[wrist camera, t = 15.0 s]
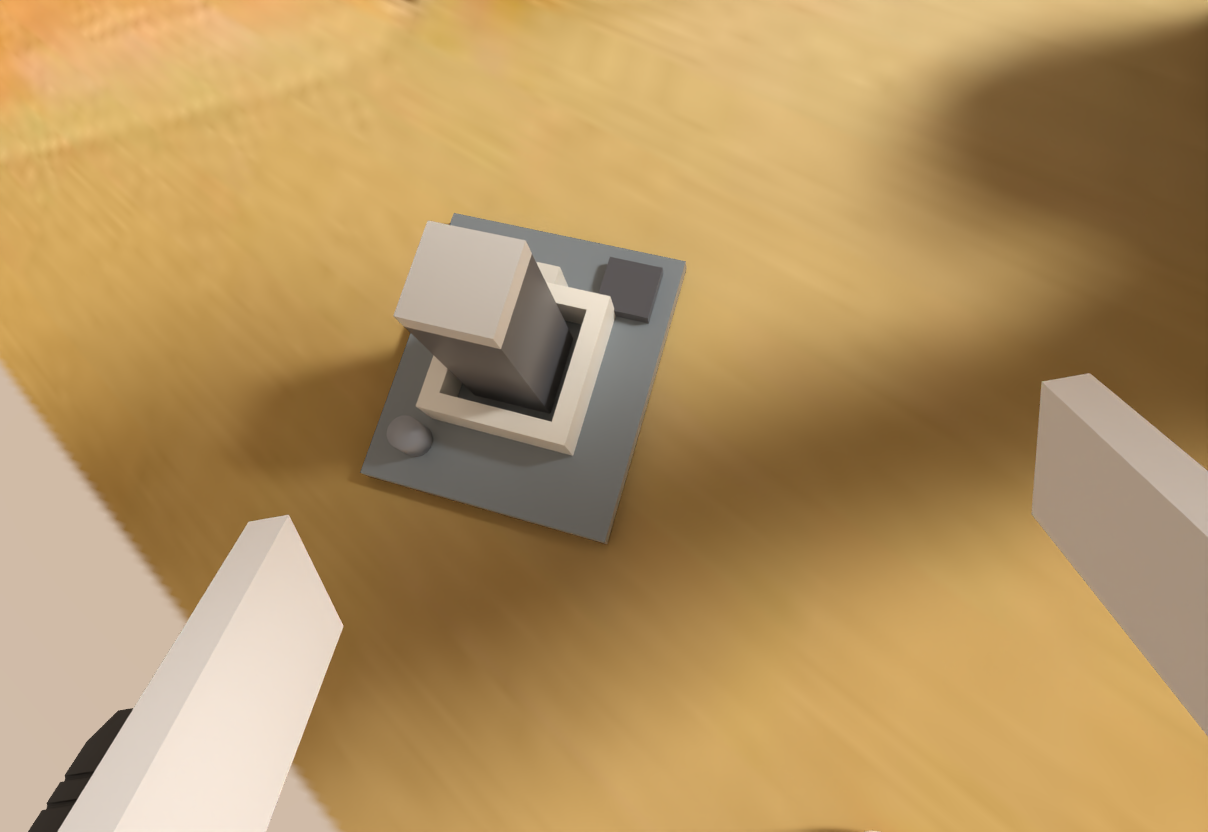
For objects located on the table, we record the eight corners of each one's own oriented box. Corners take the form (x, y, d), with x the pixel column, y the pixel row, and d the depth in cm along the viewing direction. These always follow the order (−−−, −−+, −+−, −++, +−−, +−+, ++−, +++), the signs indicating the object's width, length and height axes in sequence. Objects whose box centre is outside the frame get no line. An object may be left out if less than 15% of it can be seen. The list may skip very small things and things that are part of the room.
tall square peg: (498, 321, 45) (427, 220, 34) (573, 338, 44) (525, 240, 33) (474, 395, 44) (393, 315, 33) (550, 413, 43) (493, 339, 32)
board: (459, 221, 48) (439, 190, 45) (686, 269, 45) (683, 240, 42) (367, 476, 45) (339, 463, 41) (607, 544, 42) (597, 537, 39)
